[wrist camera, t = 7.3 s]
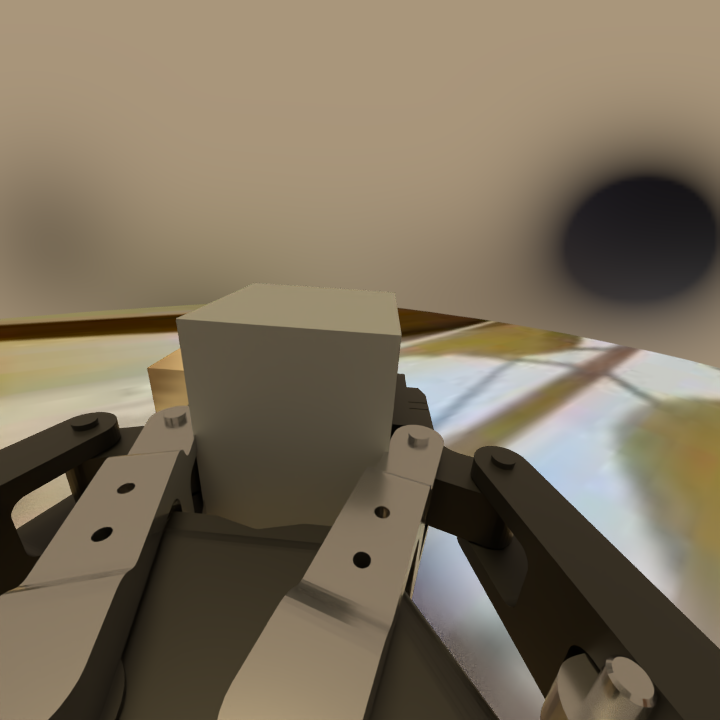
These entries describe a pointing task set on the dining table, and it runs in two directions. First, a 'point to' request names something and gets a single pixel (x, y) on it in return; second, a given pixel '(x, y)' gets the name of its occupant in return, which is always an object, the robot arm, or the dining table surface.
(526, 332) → the dining table surface
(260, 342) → the grey block
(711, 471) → the dining table surface
